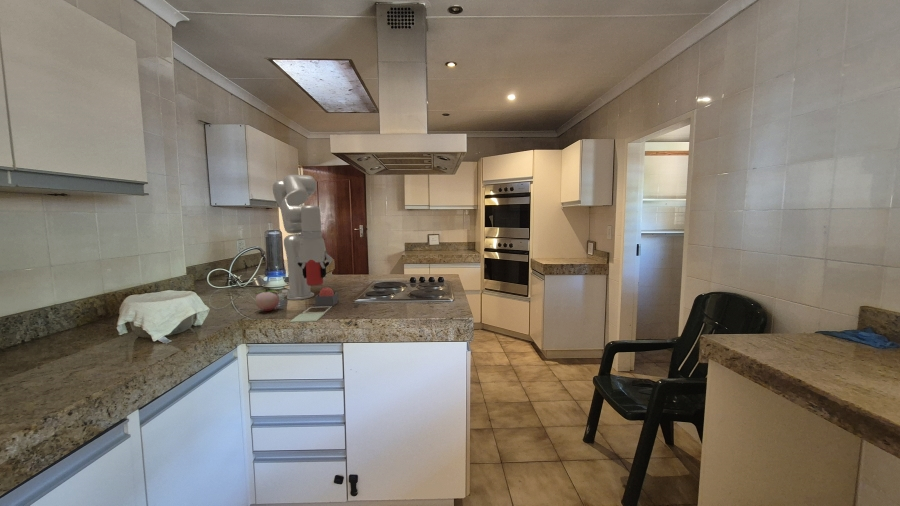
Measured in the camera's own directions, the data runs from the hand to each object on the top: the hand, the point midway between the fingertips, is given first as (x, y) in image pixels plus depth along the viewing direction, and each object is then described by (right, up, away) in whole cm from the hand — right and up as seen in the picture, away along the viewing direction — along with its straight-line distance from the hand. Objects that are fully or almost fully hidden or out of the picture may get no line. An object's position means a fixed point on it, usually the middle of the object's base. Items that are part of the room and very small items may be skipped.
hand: (314, 277), depth 142 cm
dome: (+1, -12, +11) cm, 16 cm away
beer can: (0, -3, 0) cm, 3 cm away
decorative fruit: (-20, -15, +1) cm, 25 cm away
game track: (+1, -14, 0) cm, 14 cm away
